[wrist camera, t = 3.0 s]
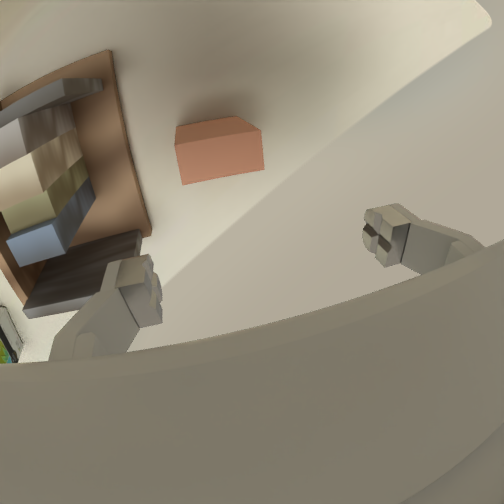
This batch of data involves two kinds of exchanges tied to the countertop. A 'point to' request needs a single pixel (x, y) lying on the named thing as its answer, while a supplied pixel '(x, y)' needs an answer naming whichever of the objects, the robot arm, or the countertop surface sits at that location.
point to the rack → (66, 187)
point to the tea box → (8, 339)
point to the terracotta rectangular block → (218, 149)
